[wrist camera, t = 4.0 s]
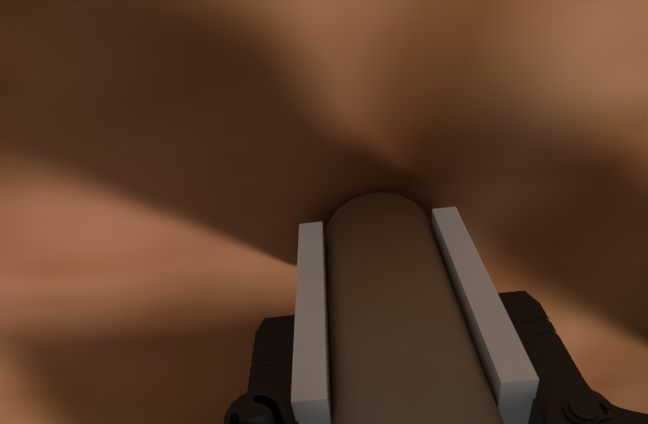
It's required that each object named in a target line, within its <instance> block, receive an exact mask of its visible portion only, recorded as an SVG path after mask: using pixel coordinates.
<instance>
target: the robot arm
mask: <svg viewBox="0 0 648 424" xmlns="http://www.w3.org/2000/svg"><path fill="white" fill-rule="evenodd" d="M432 231H433V234H434V237H435V240H436V242H437V245H438V248H439V250H440V253H441V256H442V258H443V261H444V264H445V267H446V269H447V272H448V275H449V277H450V280H451V283H452V285H453V288H454V291H455V294H456V296H457V299H458V302H459V304H460V307H461V310H462V313H463V315H464V318H465V321H466V323H467V326H468V329H469V331H470V334H471V337H472V340H473V342H474V345H475V348H476V350H477V353H478V356H479V358H480V361H481V364H482V367H483V369H484V372H485V375H486V377H487V380H488V383H489V386H490V388H491V391H492V394H493V396H494V399H495V402H496V404H497V407H498V410H499V413H500V415H501V418H502V421H503V423H504V424H648V414H645V413H640V412H635V411H630V410H626V409H623V408H619V407H617V406H615V405H613V404H611V403H610V402H609V401H608V400H607V399H605V398H604V397H603V396H602V395H601V394H600V393H598V392H596V391H594V390H591V389H590V387H589V386H588V385H587V383H586V382H585V380H584V379H583V377H582V375H581V373H580V372H579V370H578V368H577V367H576V365H575V363H574V361H573V360H572V358H571V356H570V354H569V353H568V351H567V349H566V348H565V346H564V344H563V342H562V341H561V339H560V337H559V335H557V334H556V330H555V329H554V327H553V325H552V323H551V322H549V318H548V316H547V315H546V313H545V311H544V310H543V308H542V306H541V304H540V303H539V302H538V301H536V300H535V299H534V298H533V297H532V296H530V295H529V294H528V293H527V292H525V291H516V292H506V293H497V291H496V289H495V287H494V285H493V283H492V281H491V278H490V276H489V274H488V272H487V270H486V268H485V266H484V264H483V262H482V260H481V258H480V256H479V254H478V252H477V249H476V247H475V245H474V243H473V241H472V239H471V237H470V235H469V233H468V231H467V229H466V227H465V225H464V223H463V220H462V218H461V216H460V214H459V212H458V210H457V208H456V206H455V207H446V208H437V209H432ZM253 350H254V352H253V355H252V365H251V369H250V377H249V384H248V391H247V393H246V394H244V395H242V396H240V397H239V398H238V399H237V400H236V401H234V402H233V403H232V404H231V406H230V407H229V409H228V411H227V412H226V414H225V418H224V423H223V424H332V415H331V387H330V359H329V332H328V304H327V276H326V248H325V237H324V231H323V224H322V221H321V222H312V223H303V224H299V238H298V259H297V281H296V302H295V315H291V316H281V317H272V318H265V319H264V320H263V322H262V323H261V325H260V327H259V328H258V330H257V331H256V333H255V340H254V348H253Z"/></svg>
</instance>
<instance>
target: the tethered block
mask: <svg viewBox="0 0 648 424" xmlns="http://www.w3.org/2000/svg"><path fill="white" fill-rule="evenodd" d="M325 248H326V276H327V304H328V332H329V359H330V387H331V415H332V424H504V423H503V421H502V418H501V415H500V413H499V410H498V407H497V404H496V402H495V399H494V396H493V394H492V391H491V388H490V386H489V383H488V380H487V377H486V375H485V372H484V369H483V367H482V364H481V361H480V358H479V356H478V353H477V350H476V348H475V345H474V342H473V340H472V337H471V334H470V331H469V329H468V326H467V323H466V321H465V318H464V315H463V313H462V310H461V307H460V304H459V302H458V299H457V296H456V294H455V291H454V288H453V285H452V283H451V280H450V277H449V275H448V272H447V269H446V267H445V264H444V261H443V258H442V256H441V253H440V250H439V248H438V245H437V242H436V240H435V237H434V234H433V231H432V229H431V226H430V223H429V221H428V218H427V216H426V214H425V213H424V211H423V210H422V209H421V208H420V206H418V205H417V204H416V203H415V202H413V201H412V200H410V199H408V198H406V197H404V196H401V195H398V194H394V193H386V192H377V193H369V194H365V195H361V196H359V197H356V198H354V199H352V200H350V201H348V202H347V203H345V204H344V205H342V206H341V207H340V208H339V209H338V210H337V211H336V212H335V213H334V214H333V216H332V217H331V219H330V221H329V223H328V225H327V228H326V232H325Z"/></svg>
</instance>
